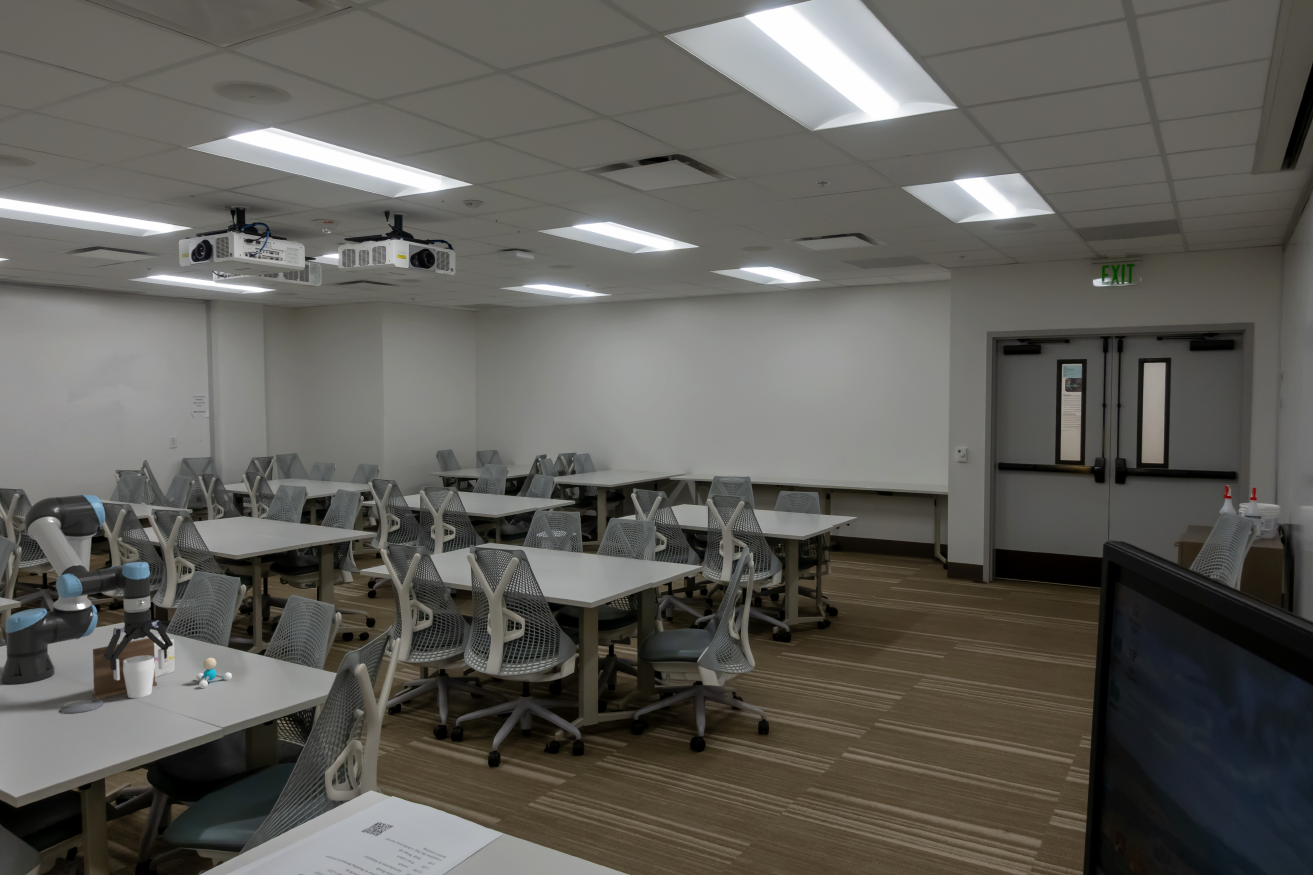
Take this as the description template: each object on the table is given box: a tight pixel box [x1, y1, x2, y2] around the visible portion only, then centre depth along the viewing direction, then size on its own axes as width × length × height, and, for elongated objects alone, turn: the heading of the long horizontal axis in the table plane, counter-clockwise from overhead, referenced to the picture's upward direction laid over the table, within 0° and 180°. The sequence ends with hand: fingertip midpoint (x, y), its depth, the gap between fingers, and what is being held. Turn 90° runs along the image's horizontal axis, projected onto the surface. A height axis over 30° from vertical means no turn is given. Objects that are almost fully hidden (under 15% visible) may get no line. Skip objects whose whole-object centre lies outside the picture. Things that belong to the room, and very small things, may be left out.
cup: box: [123, 655, 155, 699], centre depth 283 cm, size 9×9×12 cm
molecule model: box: [195, 657, 233, 689], centre depth 297 cm, size 12×12×9 cm
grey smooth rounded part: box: [60, 699, 104, 715], centre depth 272 cm, size 11×11×1 cm
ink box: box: [153, 633, 176, 678], centre depth 307 cm, size 9×8×13 cm
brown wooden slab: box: [92, 637, 158, 700], centre depth 287 cm, size 4×18×16 cm, turn 143°
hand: (139, 674), depth 283 cm, fingers open, 13 cm apart
